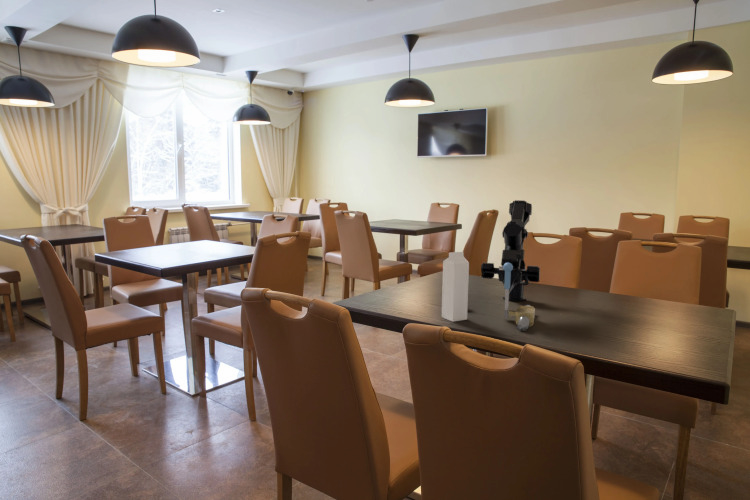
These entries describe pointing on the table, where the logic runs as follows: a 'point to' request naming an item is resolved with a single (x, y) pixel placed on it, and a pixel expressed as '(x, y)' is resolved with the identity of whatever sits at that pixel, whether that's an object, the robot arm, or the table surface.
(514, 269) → the robot arm
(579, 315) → the table surface
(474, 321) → the table surface
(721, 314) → the table surface
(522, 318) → the valve
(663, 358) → the table surface
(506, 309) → the lever
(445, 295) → the milk
